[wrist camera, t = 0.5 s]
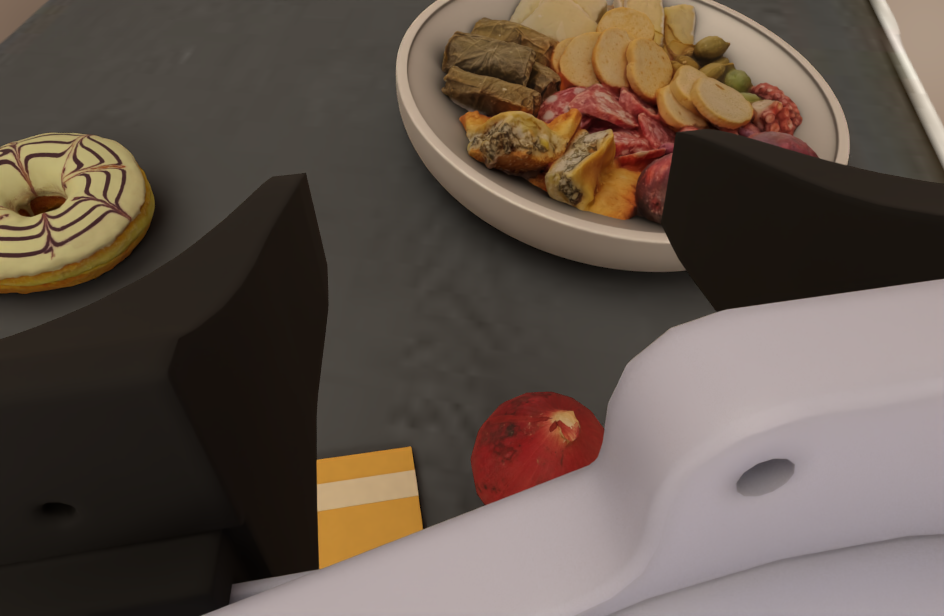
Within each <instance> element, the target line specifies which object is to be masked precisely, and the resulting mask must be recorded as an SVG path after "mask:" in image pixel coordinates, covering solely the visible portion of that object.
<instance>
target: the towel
mask: <svg viewBox="0 0 944 616" xmlns="http://www.w3.org/2000/svg"><path fill="white" fill-rule="evenodd" d="M317 513H318V545H319V569H323V568H325V567H328V566H330V565H333V564H335V563H338V562H341V561H343V560H346V559H348V558H351V557H353V556H356V555H359V554H361V553H364V552H366V551H369V550H372V549H374V548H377V547H379V546H382V545H384V544H387V543H390V542H392V541H395V540H397V539H400V538H402V537H405V536H408V535H410V534H413V533H415V532H418V531H420V530H423V524H422V517H421V510H420V503H419V495H418V488H417V481H416V474H415V468H414V461H413V454H412V447H404V448H397V449H390V450H383V451H376V452H369V453H362V454H355V455H348V456H341V457H334V458H327V459H320V460H317Z"/></svg>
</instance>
